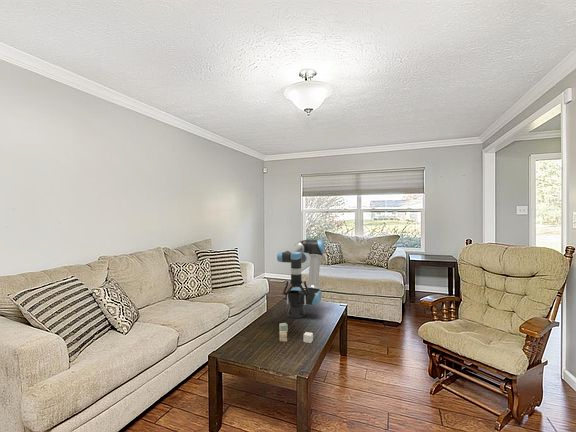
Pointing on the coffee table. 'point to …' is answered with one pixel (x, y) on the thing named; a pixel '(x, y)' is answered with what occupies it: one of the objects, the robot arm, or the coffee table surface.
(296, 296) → the mug
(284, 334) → the maple cube
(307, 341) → the cream cube
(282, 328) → the sage cube
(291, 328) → the coffee table surface
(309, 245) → the robot arm
